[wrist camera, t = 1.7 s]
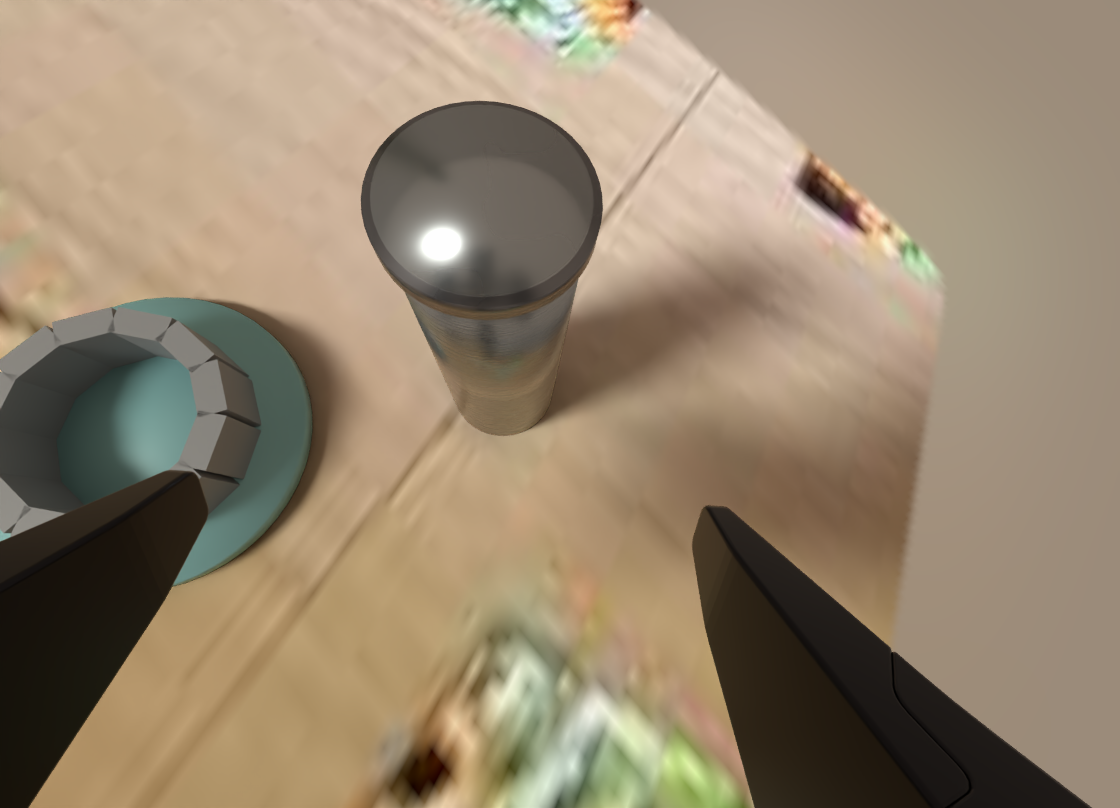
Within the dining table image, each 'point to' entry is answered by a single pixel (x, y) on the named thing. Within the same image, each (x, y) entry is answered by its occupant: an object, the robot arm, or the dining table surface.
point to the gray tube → (486, 248)
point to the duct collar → (154, 418)
